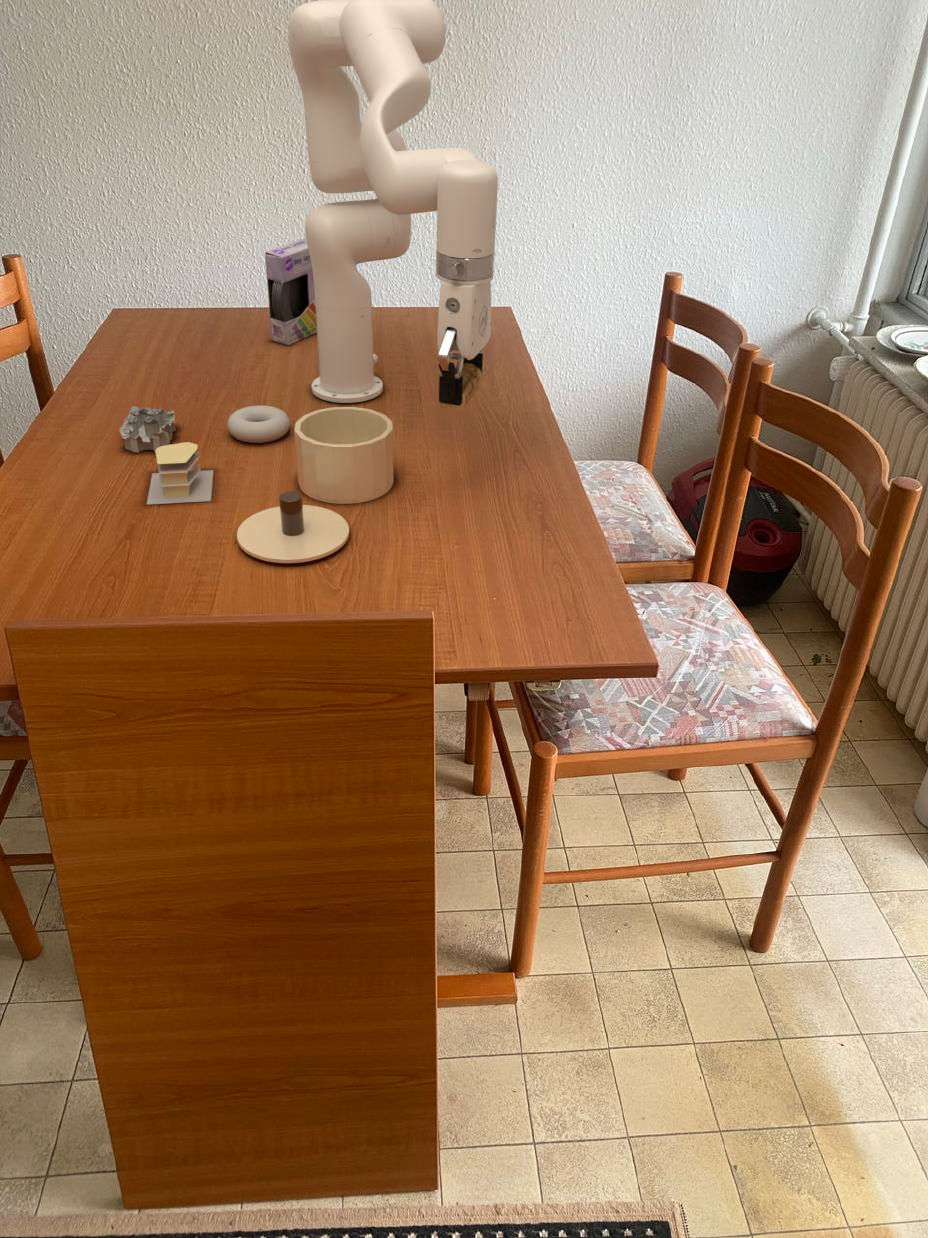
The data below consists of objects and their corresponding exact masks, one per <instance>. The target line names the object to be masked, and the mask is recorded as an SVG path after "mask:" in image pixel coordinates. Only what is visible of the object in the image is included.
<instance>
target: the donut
mask: <svg viewBox="0 0 928 1238" xmlns="http://www.w3.org/2000/svg"><path fill="white" fill-rule="evenodd" d="M290 426H291V421H290V418H289V416H288V414H287V413H286V412H285V411H284V410H282V409H280V408H278V407H275V406H269V405H259V404H258V405H250V406H246V407H242V408H240V409H236V410H235V411H234V412H233V413H232V414H230V416H229V418H228V419H227V422H226V427H227V430H228V433H229V434H230V435H231V436H232V437H233V438H235V439H236V440H237V441H241V442H244V443H250V444H261V443H262V444H263V443H270V442H273V441H277V440H278V439H281V438H282V437H284V436H285V435H286V434H287V433H288V431H289V429H290Z"/></svg>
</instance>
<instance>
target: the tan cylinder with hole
mask: <svg viewBox="0 0 928 1238" xmlns="http://www.w3.org/2000/svg"><path fill="white" fill-rule="evenodd" d="M461 377H463V396H462V404H461V405H460V406H457V405H451V404H445V403H440V404H441V406H443V407H444V408H449V409H451V410H454V411H460V410H462V409H463V408H465V406H466V405H468V404H469V403H470V401H471V400H472V398H473V397H474V395H475V394H476V393H477V392H478V391H479V388H480V386H481V384H482V382H483V372H482V373H481V371H480V369H479V368H478V367H476V366H475V365H473V364H471V363H465V364H463V366H462V371H461Z"/></svg>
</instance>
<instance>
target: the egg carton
mask: <svg viewBox="0 0 928 1238" xmlns="http://www.w3.org/2000/svg"><path fill="white" fill-rule="evenodd" d="M175 419H176V414H175V410H173V409H170V411H165V410H164V409H163V407H160V408H158V409H157V408H154V407H151V408H150V407H147V406H146V407H144V408H142V407H138V406H134V405H132V406H131V407H130V410H129V411H128V414H127V416H126V417H125V419H124V421H123V423H122V426H120V427H119V433H120V435H121V438H122V439H123V442H124V448H125V449H126V450H128V451H131V452H132V453H134V454H135V453H137V454H138V453H140V452H142V451H146V450H147V451H150V450H151V451H153V452H154V453H156V452H155V450H156V449H157V448H159V447H161V446H166V445H171V441H172V440H173V432H176V426H175Z"/></svg>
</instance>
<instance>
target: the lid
mask: <svg viewBox="0 0 928 1238" xmlns="http://www.w3.org/2000/svg"><path fill="white" fill-rule="evenodd" d="M278 502H279V506H273V507H270V508H266V509H263V510H260V511H258V512H255V513H254V514H252V515H250V516H249V517H247V518H246V519H245V520H243V521H242V522H241V524H239V526H238V528H237V531H236V541H237V544H238V546H239V547H240V549H241V550H242V551H244V553H246V554H248V555H249V556H251V557H253V558H255V559H258V560H260V561H264V562H269V563H270V562H271V563H275V564H276V563H277V564H299V563H300V564H301V563H306V562H311V561H312V562H313V561H315V560H316V561H317V560H321V559H323V558H326V557H328V556H330V555H332V554H335V552H338V551H339V550H341V548H342V547H343V546H345V544H346V543H347V542H348V540H349V537H350V526H349V523H348V522H347V520H346V519H345V518H344V517H343V516H342V515H341V514H339V513H337V512H336V511H333V510H331V509H328V508H325V507H321V506H317V505H311V504H303V496H302V494H301V493H300V492H299V491H295V490H294V491H293V490H292V491H291V490H290V491H285V492H281V493H280V494H279V496H278Z"/></svg>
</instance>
